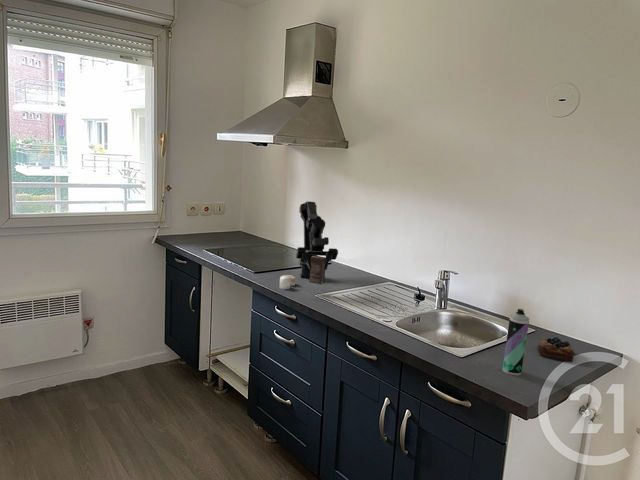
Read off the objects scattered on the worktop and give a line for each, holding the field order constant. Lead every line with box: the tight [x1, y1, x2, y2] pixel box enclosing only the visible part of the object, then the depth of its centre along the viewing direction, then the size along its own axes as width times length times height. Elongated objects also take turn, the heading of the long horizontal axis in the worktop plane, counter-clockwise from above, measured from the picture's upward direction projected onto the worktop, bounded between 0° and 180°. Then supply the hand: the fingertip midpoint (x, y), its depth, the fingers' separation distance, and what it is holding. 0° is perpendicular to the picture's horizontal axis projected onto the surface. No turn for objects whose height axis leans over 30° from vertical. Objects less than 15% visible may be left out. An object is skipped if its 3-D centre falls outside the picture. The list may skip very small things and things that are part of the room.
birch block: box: [281, 274, 296, 287], centre depth 231 cm, size 5×5×4 cm
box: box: [308, 255, 326, 285], centre depth 218 cm, size 6×4×12 cm
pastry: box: [537, 336, 575, 363], centre depth 165 cm, size 11×12×6 cm
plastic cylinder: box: [279, 275, 291, 290], centre depth 224 cm, size 5×5×5 cm
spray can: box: [502, 308, 530, 376], centre depth 147 cm, size 6×6×20 cm
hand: (318, 269), depth 216 cm, fingers closed on box, 7 cm apart
